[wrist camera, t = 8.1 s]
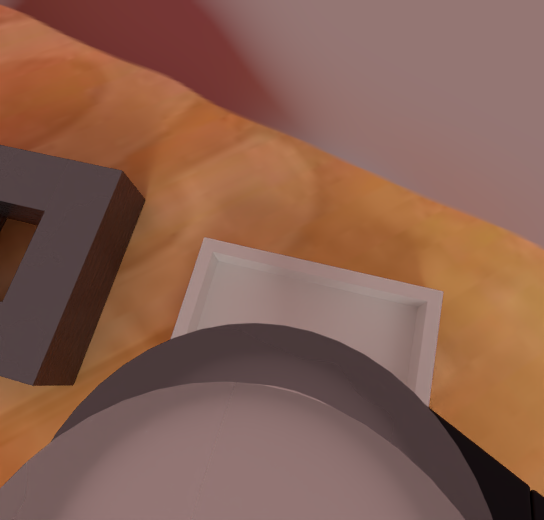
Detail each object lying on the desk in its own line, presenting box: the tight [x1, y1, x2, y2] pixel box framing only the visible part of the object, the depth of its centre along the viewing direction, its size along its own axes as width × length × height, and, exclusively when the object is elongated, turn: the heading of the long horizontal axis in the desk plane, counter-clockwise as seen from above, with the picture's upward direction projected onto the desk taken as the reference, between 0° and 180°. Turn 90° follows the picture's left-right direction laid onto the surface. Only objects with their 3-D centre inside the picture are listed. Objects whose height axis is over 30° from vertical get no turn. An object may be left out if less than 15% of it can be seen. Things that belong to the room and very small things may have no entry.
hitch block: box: [0, 145, 145, 386], centre depth 19 cm, size 10×10×3 cm
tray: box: [171, 237, 443, 407], centre depth 16 cm, size 14×11×2 cm
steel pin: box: [0, 323, 493, 520], centre depth 8 cm, size 4×4×12 cm
